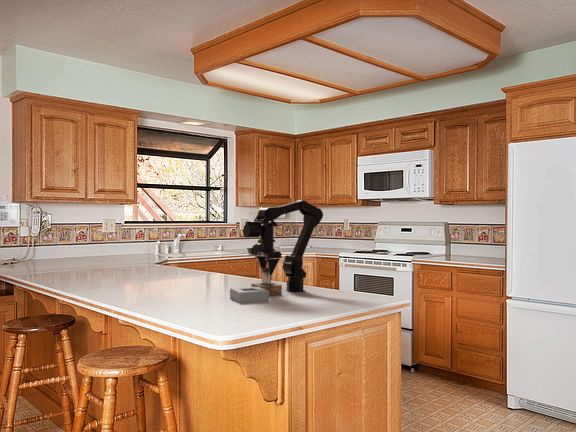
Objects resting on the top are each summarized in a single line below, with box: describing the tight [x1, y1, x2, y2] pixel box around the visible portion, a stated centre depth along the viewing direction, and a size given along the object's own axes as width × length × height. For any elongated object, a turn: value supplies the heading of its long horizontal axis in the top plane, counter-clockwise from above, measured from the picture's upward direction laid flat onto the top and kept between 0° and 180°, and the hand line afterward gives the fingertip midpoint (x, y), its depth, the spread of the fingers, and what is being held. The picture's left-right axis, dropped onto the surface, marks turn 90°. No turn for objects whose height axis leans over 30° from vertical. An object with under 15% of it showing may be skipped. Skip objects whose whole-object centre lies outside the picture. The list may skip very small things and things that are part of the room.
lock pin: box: [260, 266, 272, 285], centre depth 222 cm, size 5×5×11 cm
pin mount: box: [250, 281, 283, 296], centre depth 222 cm, size 10×10×4 cm
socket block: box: [229, 286, 270, 304], centre depth 206 cm, size 12×12×4 cm
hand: (266, 273), depth 222 cm, fingers open, 9 cm apart
